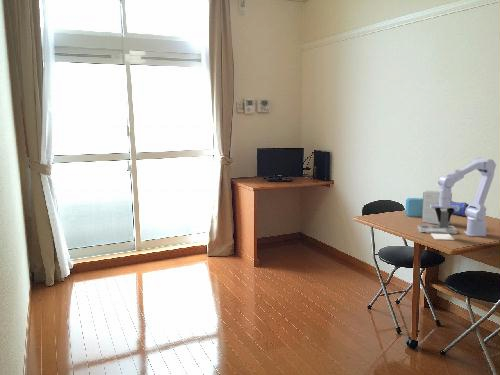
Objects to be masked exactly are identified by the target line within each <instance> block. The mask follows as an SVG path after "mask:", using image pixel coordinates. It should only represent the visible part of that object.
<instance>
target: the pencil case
mask: <svg viewBox="0 0 500 375" xmlns="http://www.w3.org/2000/svg"><path fill="white" fill-rule="evenodd" d="M469 204H470V203H469ZM469 204H468V203H467V202H457V201H453V200H452V201H451V205H458V206H459V209H454V212H453V214H452V215H456V216H457V215H458V216H461V217H467V216H466V214H465V210H466V209H467V207H468V206H469Z"/></svg>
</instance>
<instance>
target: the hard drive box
mask: <svg viewBox="0 0 500 375" xmlns="http://www.w3.org/2000/svg"><path fill="white" fill-rule="evenodd" d="M452 197H453V192H451V201H453V200H452ZM422 198H423V208H422V216H421V222H422V223H425V222H426V223H427V224H432V225H438V217H437V213H436V211H435V209H431V208H430V205H436V204H439V198H440V191H438V190H425V191H423V193H422ZM450 205H451V202H450ZM441 211H447V209H441ZM450 224H451V219H450V220H449V222H448V225H450Z"/></svg>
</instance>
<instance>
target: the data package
mask: <svg viewBox="0 0 500 375" xmlns="http://www.w3.org/2000/svg"><path fill="white" fill-rule="evenodd" d="M422 208H423V197H408V198H406V199H405V215H406V216H407V217H410V218H411V217H422Z"/></svg>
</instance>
